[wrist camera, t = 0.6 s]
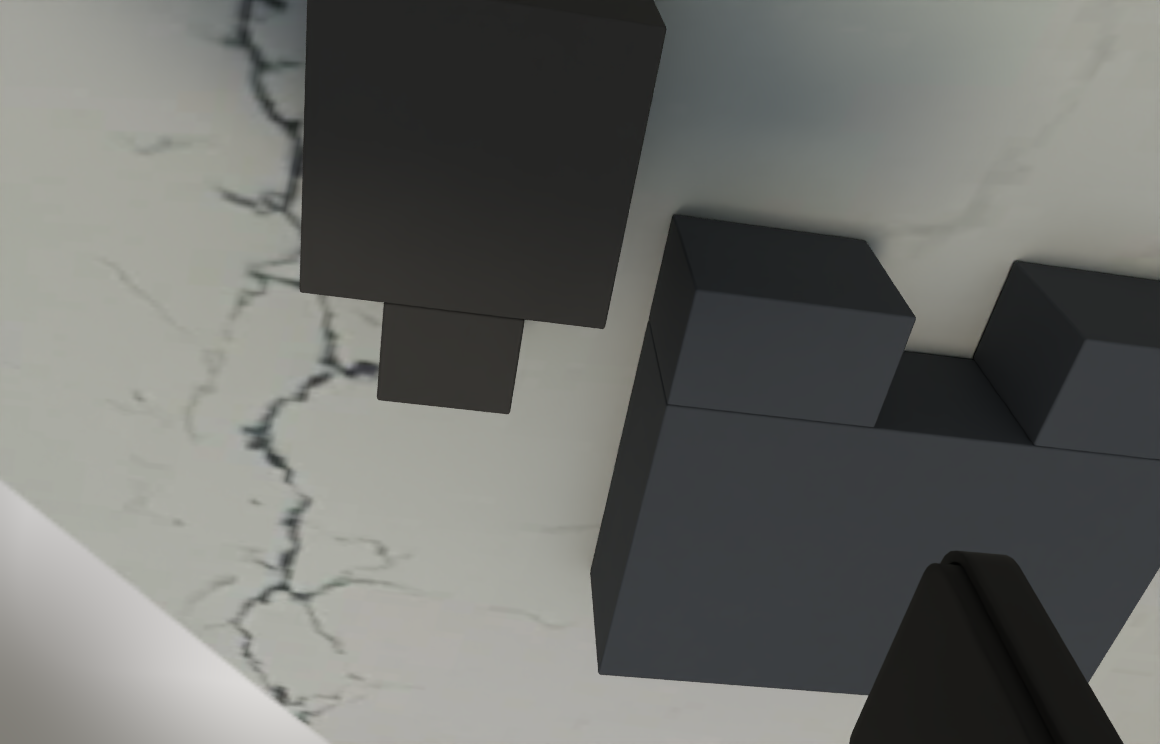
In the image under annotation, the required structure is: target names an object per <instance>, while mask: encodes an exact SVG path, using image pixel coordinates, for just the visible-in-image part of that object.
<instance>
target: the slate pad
mask: <svg viewBox="0 0 1160 744" xmlns="http://www.w3.org/2000/svg"><path fill="white" fill-rule="evenodd" d="M649 320H650V321H649V322H648V325H647V330H646V334H645V338H644V343H643V347H642V351H641V356H640V360H639V364H638V369H637V373H636V377H635V382H634V386H633V390H632V395H631V399H630V403H629V408H628V412H627V416H626V421H625V425H624V429H623V434H622V438H621V442H620V447H619V451H618V455H617V460H616V464H615V468H614V473H613V477H612V481H611V486H610V490H609V494H608V499H607V503H606V507H605V512H604V516H603V520H602V525H601V529H600V533H599V538H598V542H597V546H596V551H595V555H594V559H593V564H592V568H591V572H590V575H591V588H592V600H593V612H594V625H595V637H596V649H597V662H598V672H599V674H600V675H612V676H625V677H638V678H651V679H664V680H677V681H690V682H703V683H716V684H729V685H741V686H754V687H767V688H780V689H793V690H806V691H819V692H832V693H845V694H858V695H869V694H870V691H871V689H872V687H873V685H874V682H875V680H876V678H877V676H878V673H879V671H880V669H881V667H882V665H883V662H884V660H885V658H886V656H887V653H888V651H889V649H890V647H891V644H892V642H893V640H894V638H895V636H896V633H897V631H898V629H899V627H900V624H901V622H902V620H903V618H904V615H905V613H906V611H907V609H908V606H909V604H910V602H911V600H912V598H913V595H914V593H915V591H916V589H917V586H918V584H919V582H920V580H921V577H922V575H923V573H924V571H925V570H926V568H927V567H928V566H929V565H930V564H932V563H940V562H941V561H942V559H943V557H944V556H945V555H946V554H947V553H949V552H950V551H968V552H979V553H990V554H1002V555H1007V556H1009V557H1011V558H1013V559H1014V560H1015V561H1016V563H1017V564H1018V565H1019V566H1020V568H1021V570H1022V571H1023V573H1024V575H1025V576H1026V578H1027V580H1028V582H1029V583H1030V585H1031V587H1032V588H1033V590H1034V592H1035V594H1036V595H1037V597H1038V599H1039V600H1040V602H1041V604H1042V605H1043V607H1044V609H1045V611H1046V612H1047V614H1048V616H1049V617H1050V619H1051V621H1052V623H1053V624H1054V626H1055V628H1056V629H1057V631H1058V633H1059V634H1060V636H1061V638H1062V640H1063V641H1064V643H1065V645H1066V646H1067V648H1068V650H1069V652H1070V653H1071V655H1072V657H1073V658H1074V660H1075V662H1076V663H1077V665H1078V667H1079V669H1080V670H1081V672H1082V674H1083V675H1084V677H1085V679H1086V681H1087V682H1089V681H1090V679H1091V678H1092V676H1093V674H1094V673H1095V671H1096V669H1097V668H1098V666H1099V665H1100V663H1101V661H1102V660H1103V658H1104V657H1105V655H1106V653H1107V652H1108V650H1109V648H1110V647H1111V645H1112V644H1113V642H1114V640H1115V639H1116V637H1117V636H1118V634H1119V632H1120V631H1121V629H1122V627H1123V626H1124V624H1125V623H1126V621H1127V619H1128V618H1129V616H1130V615H1131V613H1132V611H1133V610H1134V608H1135V606H1136V605H1137V603H1138V602H1139V600H1140V598H1141V597H1142V595H1143V593H1144V592H1145V590H1146V589H1147V587H1148V585H1149V584H1150V582H1151V581H1152V579H1153V577H1154V576H1155V574H1156V572H1157V571H1158V569H1159V568H1160V281H1155V280H1148V279H1141V278H1133V277H1126V276H1119V275H1111V274H1104V273H1097V272H1089V271H1082V270H1075V269H1068V268H1060V267H1053V266H1046V265H1038V264H1031V263H1024V262H1015V263H1014V265H1013V267H1012V270H1011V272H1010V274H1009V277H1008V279H1007V281H1006V283H1005V286H1004V288H1003V290H1002V293H1001V295H1000V297H999V300H998V302H997V304H996V307H995V309H994V311H993V314H992V316H991V318H990V321H989V323H988V325H987V328H986V330H985V332H984V335H983V337H982V339H981V342H980V344H979V346H978V349H977V351H976V353H975V356H974V360H969V359H961V358H953V357H945V356H936V355H928V354H920V353H912V352H904V349H905V346H906V343H907V341H908V338H909V336H910V333H911V330H912V328H913V325H914V323H915V320H916V317H915V315H914V314H913V312H912V311H911V309H910V308H909V306H908V305H907V303H906V302H905V300H904V299H903V297H902V296H901V294H900V293H899V291H898V290H897V288H896V287H895V285H894V284H893V282H892V280H891V279H890V277H889V276H888V274H887V273H886V271H885V270H884V268H883V267H882V265H881V264H880V262H879V261H878V259H877V258H876V256H875V255H874V253H873V252H872V250H871V248H870V247H869V245H868V244H867V242H866V241H863V240H856V239H849V238H841V237H834V236H827V235H819V234H812V233H805V232H797V231H790V230H783V229H776V228H768V227H761V226H754V225H746V224H739V223H732V222H724V221H717V220H710V219H702V218H695V217H688V216H681V215H673V217H672V221H671V226H670V230H669V234H668V239H667V243H666V247H665V252H664V256H663V260H662V265H661V269H660V273H659V278H658V282H657V286H656V291H655V295H654V299H653V304H652V308H651V312H650V317H649Z"/></svg>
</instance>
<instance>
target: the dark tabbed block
mask: <svg viewBox="0 0 1160 744" xmlns="http://www.w3.org/2000/svg"><path fill="white" fill-rule="evenodd" d="M665 34H666V26H665V24H664V22H663V20H662V18H661V15H660V13H659V11H658V9H657V7H656V5H655V3H654V1H653V0H307V31H306V69H305V107H304V145H303V182H302V220H301V258H300V292H302V293H311V294H319V295H327V296H335V297H344V298H352V299H360V300H368V301H377V302H384V309H383V322H382V336H381V349H380V362H379V376H378V389H377V399H378V400H383V401H392V402H401V403H410V404H419V405H429V406H438V407H447V408H456V409H465V410H474V411H484V412H493V413H502V414H509V413H510V409H511V403H512V397H513V390H514V384H515V378H516V371H517V365H518V359H519V352H520V346H521V340H522V333H523V327H524V319H525V320H533V321H542V322H550V323H558V324H566V325H575V326H583V327H591V328H599V329H604V328H605V325H606V320H607V315H608V310H609V305H610V301H611V296H612V291H613V286H614V281H615V276H616V271H617V267H618V262H619V257H620V252H621V247H622V242H623V237H624V233H625V228H626V223H627V218H628V213H629V208H630V203H631V199H632V194H633V189H634V184H635V179H636V174H637V169H638V165H639V160H640V155H641V150H642V145H643V140H644V136H645V131H646V126H647V121H648V116H649V111H650V106H651V102H652V97H653V92H654V87H655V82H656V77H657V72H658V68H659V63H660V58H661V53H662V48H663V43H664V38H665Z"/></svg>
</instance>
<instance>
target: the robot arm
mask: <svg viewBox="0 0 1160 744" xmlns="http://www.w3.org/2000/svg"><path fill="white" fill-rule="evenodd" d="M849 744H1123V742H1122V740H1121V739H1120V737H1119V735H1118V733H1117V732H1116V730H1115V728H1114V727H1113V725H1112V723H1111V721H1110V720H1109V718H1108V716H1107V715H1106V713H1105V711H1104V710H1103V708H1102V706H1101V704H1100V703H1099V701H1098V699H1097V698H1096V696H1095V694H1094V692H1093V691H1092V689H1091V687H1090V686H1089V684H1088V682H1087V681H1086V679H1085V677H1084V675H1083V674H1082V672H1081V670H1080V669H1079V667H1078V665H1077V663H1076V662H1075V660H1074V658H1073V657H1072V655H1071V653H1070V652H1069V650H1068V648H1067V646H1066V645H1065V643H1064V641H1063V640H1062V638H1061V636H1060V634H1059V633H1058V631H1057V629H1056V628H1055V626H1054V624H1053V623H1052V621H1051V619H1050V617H1049V616H1048V614H1047V612H1046V611H1045V609H1044V607H1043V605H1042V604H1041V602H1040V600H1039V599H1038V597H1037V595H1036V594H1035V592H1034V590H1033V588H1032V587H1031V585H1030V583H1029V582H1028V580H1027V578H1026V576H1025V575H1024V573H1023V571H1022V570H1021V568H1020V566H1019V565H1018V564H1017V563H1016V561H1015V560H1014V559H1013V558H1011V557H1009V556H1007V555H1002V554H990V553H979V552H968V551H950V552H949V553H947V554H946V555H945V556H944V557H943V559H942V561H941V562H940V563H932V564H930V565H929V566H928V567H927V568H926V570H925V571H924V573H923V575H922V577H921V580H920V582H919V584H918V586H917V589H916V591H915V593H914V595H913V598H912V600H911V602H910V604H909V606H908V609H907V611H906V613H905V615H904V618H903V620H902V622H901V624H900V627H899V629H898V631H897V633H896V636H895V638H894V640H893V642H892V644H891V647H890V649H889V651H888V653H887V656H886V658H885V660H884V662H883V665H882V667H881V669H880V671H879V673H878V676H877V678H876V680H875V682H874V685H873V687H872V689H871V691H870V694H869V696H868V698H867V700H866V703H865V705H864V707H863V709H862V711H861V714H860V716H859V718H858V720H857V723H856V725H855V727H854V729H853V732H852V734H851V738H850V743H849Z"/></svg>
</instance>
